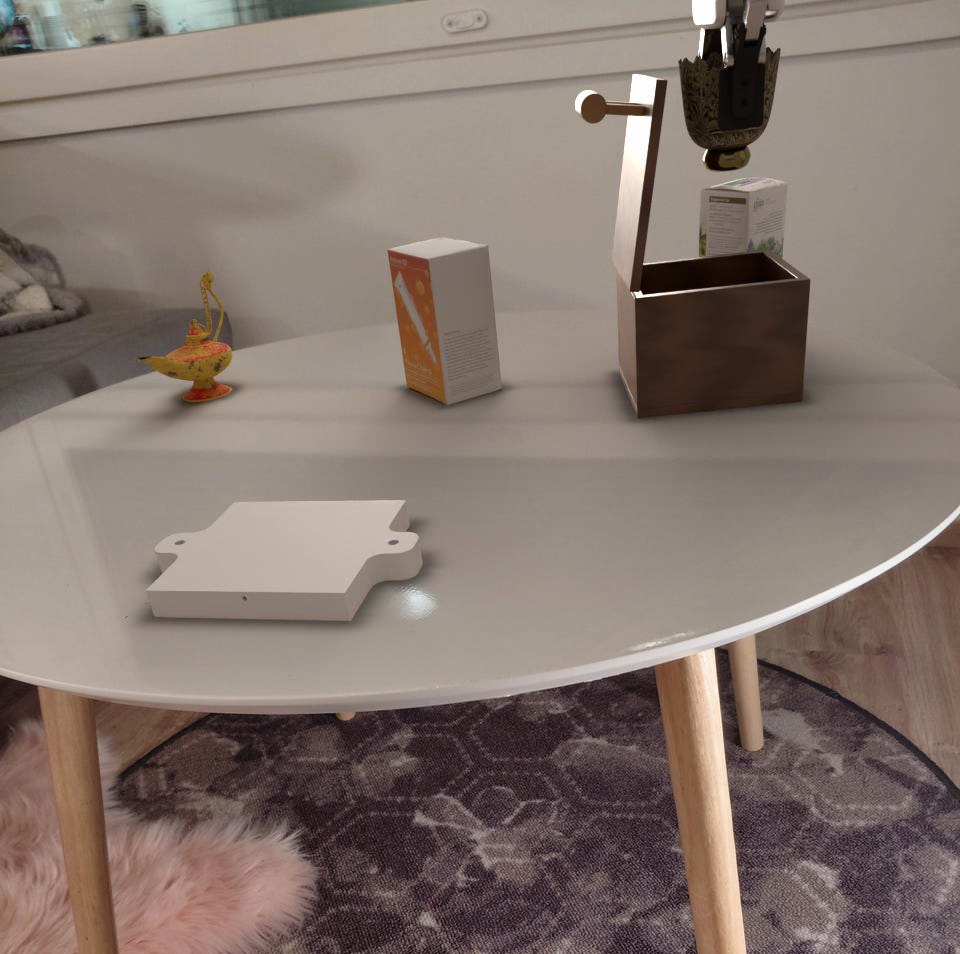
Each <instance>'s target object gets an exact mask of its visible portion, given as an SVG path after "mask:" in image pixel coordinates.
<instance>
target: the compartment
mask: <svg viewBox="0 0 960 954" xmlns="http://www.w3.org/2000/svg"><path fill="white" fill-rule="evenodd" d="M615 280H616V307H617V308H616V312H617V315H616V316H617V341H618V344H617V345H618V346H617V347H618V366H619V367H618V374H619V377H620V379H621V382H622V384H623V387H624V389H625V391H626V394H627V396H628V398H629V401H630V404H631V406H632V408H633V411H634V414H635V416H636V418H637V419H644V418H645V419H646V418H655V417H665V416H675V415H685V414H695V413H705V412H714V411H726V410H734V409H743V408H745V409H746V408H753V407H763V406H764V407H765V406H773V405H783V404H793V403H802V402H803V393H804V382H805V381H804V380H805V368H806V367H805V366H806V352H807V337H808V336H807V335H808V325H809V323H808V321H809V307H810V296H811V295H810V294H811V293H810V292H811V281H812V280H811V278H810V277H808V276H807V275H805V274H804V273H803V272H801V271H800V270H799V269H797V268H796V267H794V266H793V265H792V264H790V263H789V262H787V261H786V260H785V259H784V258H783V257H782V258H781V257H779V256H778V255H777V254H775V253H774V252H773V251H771V250H770V249H768V250H759V251H750V252H741V253H732V254H723V255H714V256H705V257H699V256H696V257H689V258H687V257H686V258H679V259H678V258H677V259H669V260H662V261H652V262H644V263H643V271H642V278H641V286H640V292H630V291H629V290H628V288H627V286H626V285H625V283H624V281H623V279H622V278H621V276H620V274H619V273H618V271H617V269H616V268H615Z"/></svg>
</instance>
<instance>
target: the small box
mask: <svg viewBox="0 0 960 954" xmlns="http://www.w3.org/2000/svg"><path fill="white" fill-rule="evenodd" d="M489 251H490V250H489V245H488V244H481V243H476V242H473V241H469V240H466V239H465V240H464V239H455V238H450V237H436V238H431V239H426V240H421V241H417V242H416V241H415V242H412V243H408V244H403V245H399V246H395V247H391V248H387V258H388V263H389V269H390V271H389V272H390V279H391V284H392V290H393V291H392V292H393V299H394V305H395V313H396V319H397V326H398V332H399V333H398V334H399V341H400V346H401V355H402V361H403V369H404V375H405V383H406V387H407V388H408V389H409V388H410V389H412V390H414V391H417V392H419V393H421V394H423V395H425V396H428V397H430V398H432V399H434V400H437V401H438V402H441V403H443V404H444V405H446V406H450V405H454V404H456V403H459V402H462V401H466V400H470V399H473V398H476V397H480V396H483V395H487V394H490V393H493V392H497V391H499V390H501V389H503V383H502V373H501V372H502V371H501V364H500V353H499V344H498V343H499V342H498V331H497V322H496V321H497V320H496V312H495V311H496V310H495V304H494V303H495V300H494V290H493V280H492V270H491V260H490V252H489Z"/></svg>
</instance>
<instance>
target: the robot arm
mask: <svg viewBox="0 0 960 954" xmlns="http://www.w3.org/2000/svg"><path fill="white" fill-rule="evenodd" d="M785 2H786V0H691V5H692V19H693V22H694V24H695V25H696V26H697V27H698V28H700V32H699V33H700V35H699V48H698V56H699V57H700V58H701V59H703V60H704V61H706V59H707V58H708V57H709V56H710V54H712V53H713V52H716V53H718V54H719V55H720V56H721V57H722V59H723V60H724V69H719V97H718V128H719V129H720V130H722V131H730V130H738V129H747V128H756V127H760V126H761V125H762V123H763V116H764V92H765V68H766V64H764V63H765V60H766V48H767V45H766V35H767V25H766V24H765V23H774V22H777V20H778V19H779V18H780V17H781V16H782V14H783V13H784V10H785V4H786V3H785Z"/></svg>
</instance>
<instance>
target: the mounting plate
mask: <svg viewBox="0 0 960 954" xmlns="http://www.w3.org/2000/svg"><path fill="white" fill-rule="evenodd" d="M410 526H411V521H410V517H409V510H408V503H407V500H406V499H382V500H381V499H377V500H374V499H373V500H370V499H369V500H368V499H367V500H366V499H365V500H296V501H295V500H289V501H288V500H284V501H283V500H282V501H281V500H280V501H234V502H233V503H232V504H231V505H230V506H229V507H228V508H227V509H226V510H225V511H223V513H221V515H220V516H219V517H217V518H216V520H214V522H213V523H212V524H211V525H209V526H208V527H207V528H204V529H202V530H199V531H194V532H177V533H172V534H171V535H168V536H166V537H164V538H163V539H162V540H161V541H160V542H159V543H158V544H156V546H155V547H154V553H155V556H156V559H157V562H158V565H159V568H160V571H161V574H160V575H159V577H157V579H156V580H155V581H153V583H152V584H151V585H150V586H148V587H147V588H146V590H145V592H146V595H147V599H148V601H149V605H150V608H151V611H152V614H153V617H154V618H177V619H178V618H179V619H180V618H181V619H182V618H186V619H187V618H188V619H227V620H228V619H229V620H230V619H232V620H233V619H234V620H279V621H281V620H283V621H284V620H285V621H329V622H331V621H332V622H351V621H352V620H353V618H354V617H355V615H356V614H357V612H358V610H359V609H360V607H361V605H363V602H364V601H365V599H366V597H367V596H368V594H369V592H370V591H371V589H372V588H373V587H374V586H376V584H380V583H382V582H387V581H406V580H407V581H408V580H410V579H412V578H415V577H416V576H417V575H418V574H419V573H420V571H421V569H422V567H423V565H424V562H423V556H422V549H421V543H420V537H419V535H418V534H417V533H416V532H412V531H408V529H409V528H410Z"/></svg>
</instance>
